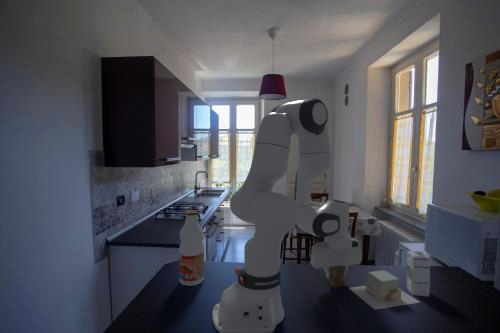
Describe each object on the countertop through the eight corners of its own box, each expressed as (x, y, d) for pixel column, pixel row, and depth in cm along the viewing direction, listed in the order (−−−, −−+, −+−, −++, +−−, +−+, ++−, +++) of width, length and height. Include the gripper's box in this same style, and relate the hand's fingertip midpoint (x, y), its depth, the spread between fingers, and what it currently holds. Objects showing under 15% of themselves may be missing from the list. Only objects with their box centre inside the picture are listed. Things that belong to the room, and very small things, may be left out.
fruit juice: (207, 283, 101) (207, 212, 100) (183, 290, 97) (182, 215, 95) (199, 274, 110) (199, 207, 108) (176, 279, 105) (176, 210, 104)
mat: (374, 310, 84) (374, 309, 84) (348, 288, 98) (348, 287, 98) (420, 303, 89) (420, 302, 89) (389, 283, 102) (389, 282, 102)
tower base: (381, 302, 89) (381, 292, 88) (365, 290, 96) (365, 281, 96) (401, 299, 90) (401, 289, 90) (384, 287, 98) (384, 278, 98)
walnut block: (333, 288, 99) (333, 267, 98) (327, 282, 103) (327, 262, 103) (344, 286, 100) (344, 266, 99) (337, 281, 104) (337, 261, 104)
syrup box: (430, 297, 92) (431, 257, 92) (411, 295, 94) (412, 255, 93) (422, 289, 98) (424, 251, 97) (405, 287, 99) (406, 250, 98)
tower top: (381, 291, 89) (382, 281, 89) (367, 281, 96) (368, 272, 96) (398, 288, 91) (399, 279, 90) (384, 279, 97) (384, 270, 97)
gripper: (315, 246, 95) (315, 283, 96) (364, 242, 100) (363, 277, 100) (307, 240, 101) (307, 275, 102) (354, 237, 106) (353, 270, 107)
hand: (335, 276), depth 101 cm, fingers closed on walnut block, 4 cm apart
